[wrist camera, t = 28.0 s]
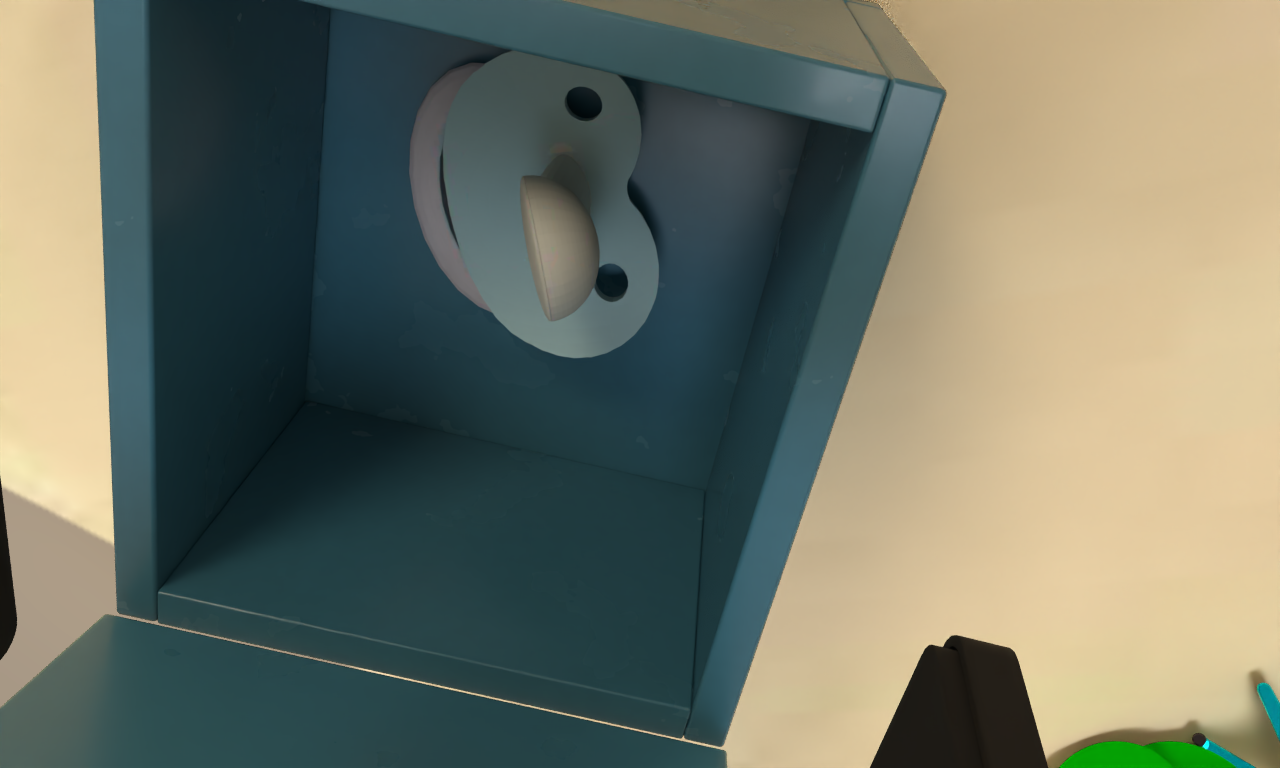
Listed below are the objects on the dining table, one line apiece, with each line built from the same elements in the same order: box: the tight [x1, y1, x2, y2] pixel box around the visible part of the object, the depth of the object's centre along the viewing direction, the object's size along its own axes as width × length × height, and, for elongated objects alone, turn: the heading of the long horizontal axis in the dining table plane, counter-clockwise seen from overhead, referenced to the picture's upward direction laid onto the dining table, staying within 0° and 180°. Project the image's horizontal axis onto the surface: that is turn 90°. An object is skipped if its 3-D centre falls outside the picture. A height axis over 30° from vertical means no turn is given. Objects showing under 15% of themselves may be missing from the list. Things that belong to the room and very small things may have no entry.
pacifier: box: [409, 50, 659, 358], centre depth 23 cm, size 7×6×6 cm
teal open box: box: [94, 0, 946, 747], centre depth 23 cm, size 14×13×9 cm
